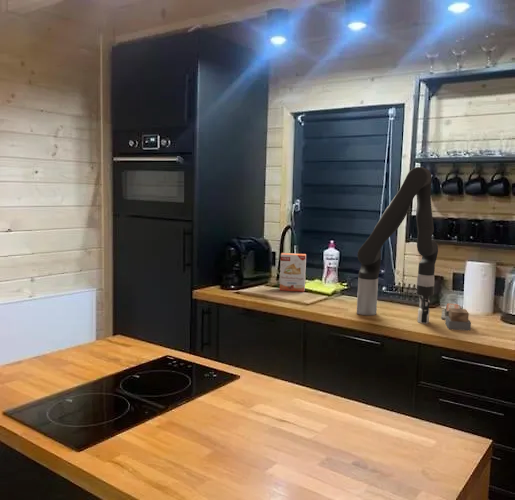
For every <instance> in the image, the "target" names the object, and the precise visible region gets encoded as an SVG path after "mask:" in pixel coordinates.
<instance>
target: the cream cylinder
mask: <svg viewBox="0 0 515 500" xmlns="http://www.w3.org/2000/svg"><path fill="white" fill-rule="evenodd" d="M424 311H426V310H424ZM430 311H431V310H430V308H429V314H428V315H427V322H426V323H423V324H424V325H427V324H429V323H430ZM421 320H422V309H421V308H418V309H417V321H416V322H417V323H418V324H422V321H421Z"/></svg>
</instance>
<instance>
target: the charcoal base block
mask: <svg viewBox="0 0 515 500" xmlns="http://www.w3.org/2000/svg"><path fill="white" fill-rule="evenodd" d="M444 321H445V326H446V327H447V329H448V330H452V329H453V331H455V330H456V331H468V330H469V331H471V328H472V326H471V325H472V322H471V321H470V320H469V319H468V322H458V321H451V320H450V318H449V316H446V320H444Z"/></svg>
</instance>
